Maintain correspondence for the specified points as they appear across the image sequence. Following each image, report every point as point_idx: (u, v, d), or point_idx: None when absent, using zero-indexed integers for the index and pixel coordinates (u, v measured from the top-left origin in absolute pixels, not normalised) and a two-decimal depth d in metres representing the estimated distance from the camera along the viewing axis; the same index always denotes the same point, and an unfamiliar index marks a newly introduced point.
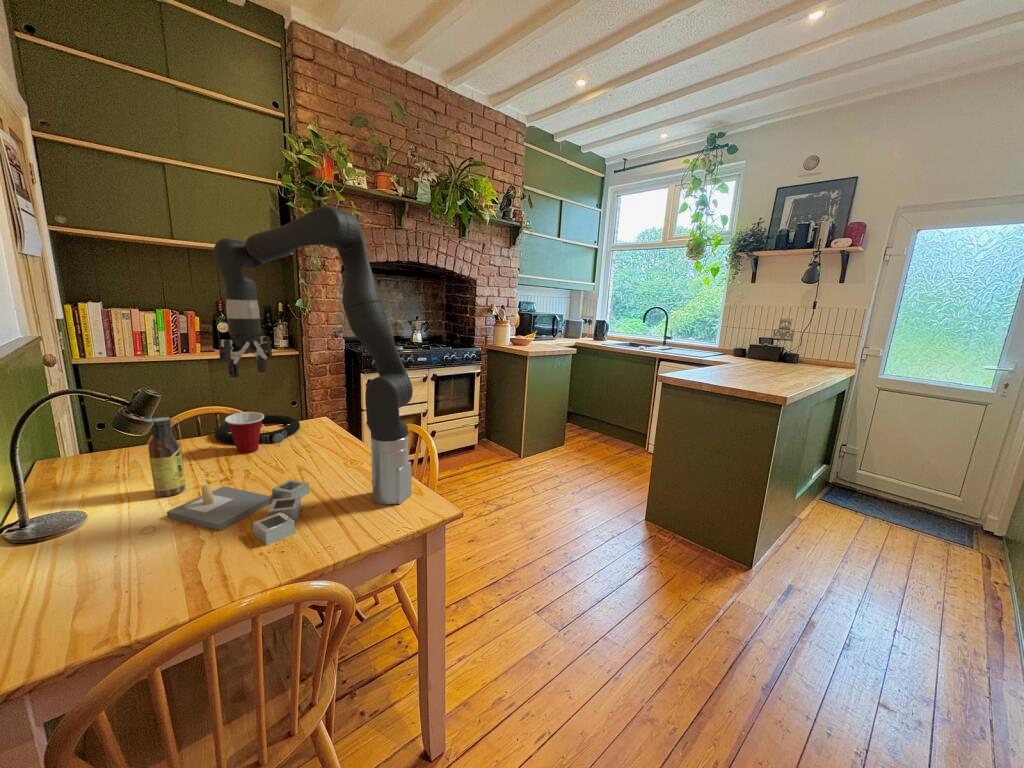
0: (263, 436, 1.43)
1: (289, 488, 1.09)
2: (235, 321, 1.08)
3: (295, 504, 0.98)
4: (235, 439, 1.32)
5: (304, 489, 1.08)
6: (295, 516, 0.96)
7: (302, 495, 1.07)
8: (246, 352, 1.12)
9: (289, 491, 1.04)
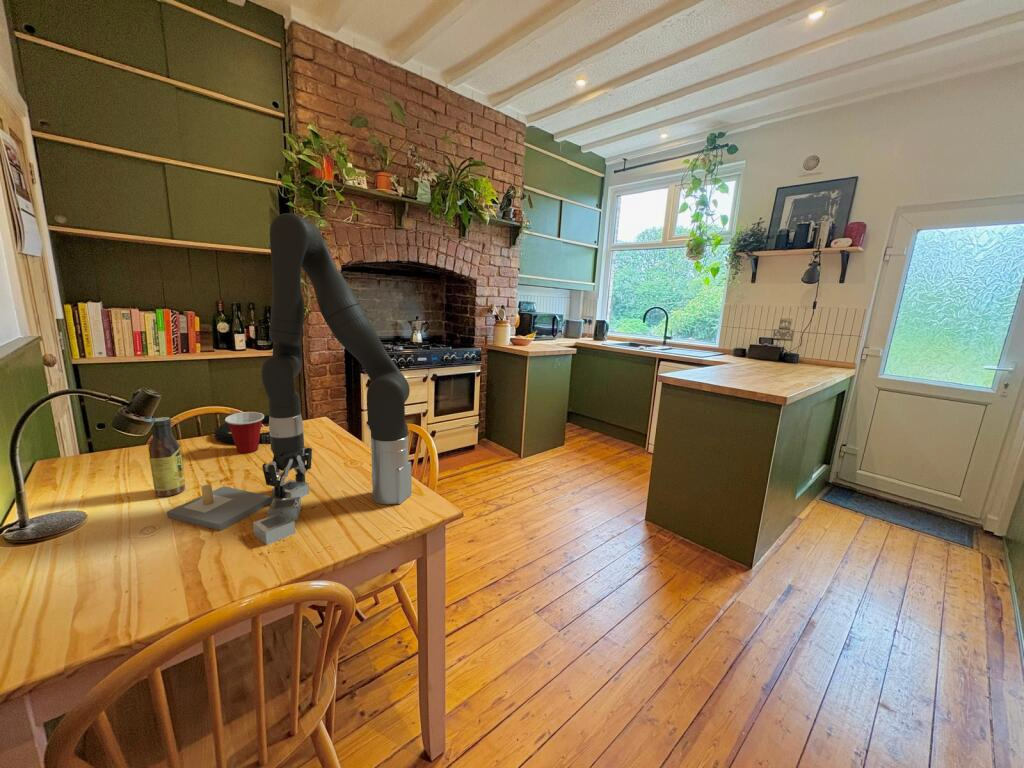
0: (263, 436, 1.43)
1: (289, 488, 1.09)
2: (279, 440, 1.00)
3: (295, 504, 0.98)
4: (235, 439, 1.32)
5: (304, 489, 1.08)
6: (295, 516, 0.96)
7: (302, 495, 1.07)
8: None
9: (289, 491, 1.04)
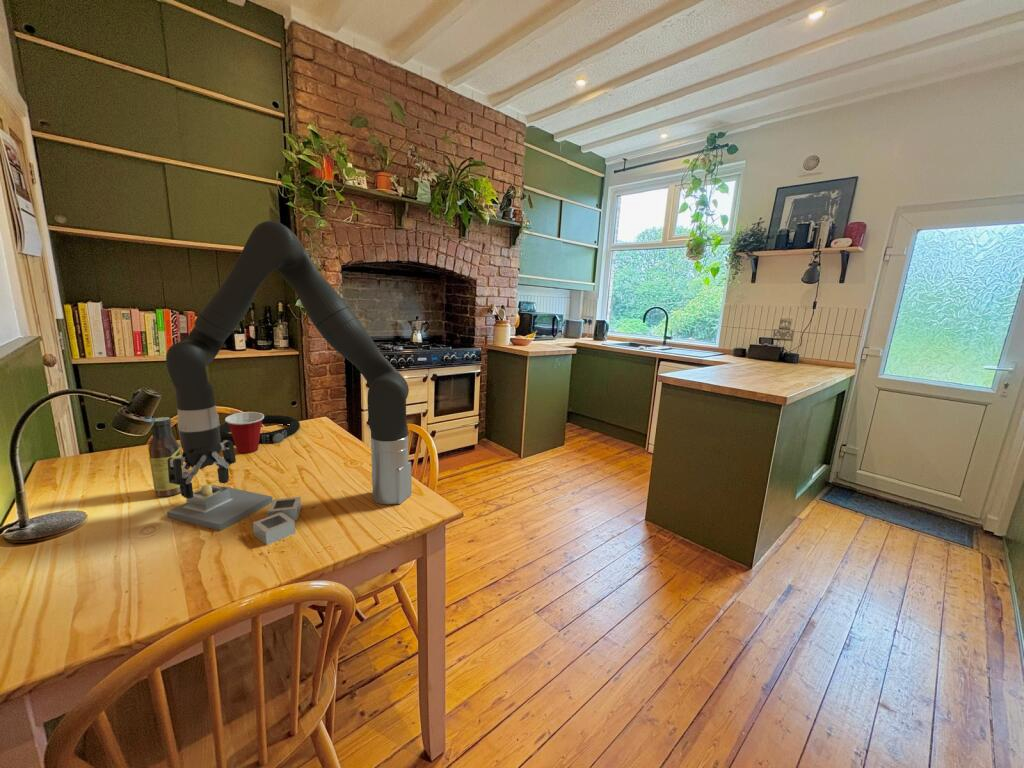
0: (263, 436, 1.43)
1: None
2: (188, 435, 0.92)
3: (295, 504, 0.98)
4: (235, 439, 1.32)
5: (224, 495, 0.99)
6: (295, 516, 0.96)
7: (220, 501, 0.99)
8: (202, 466, 0.96)
9: (203, 497, 0.96)
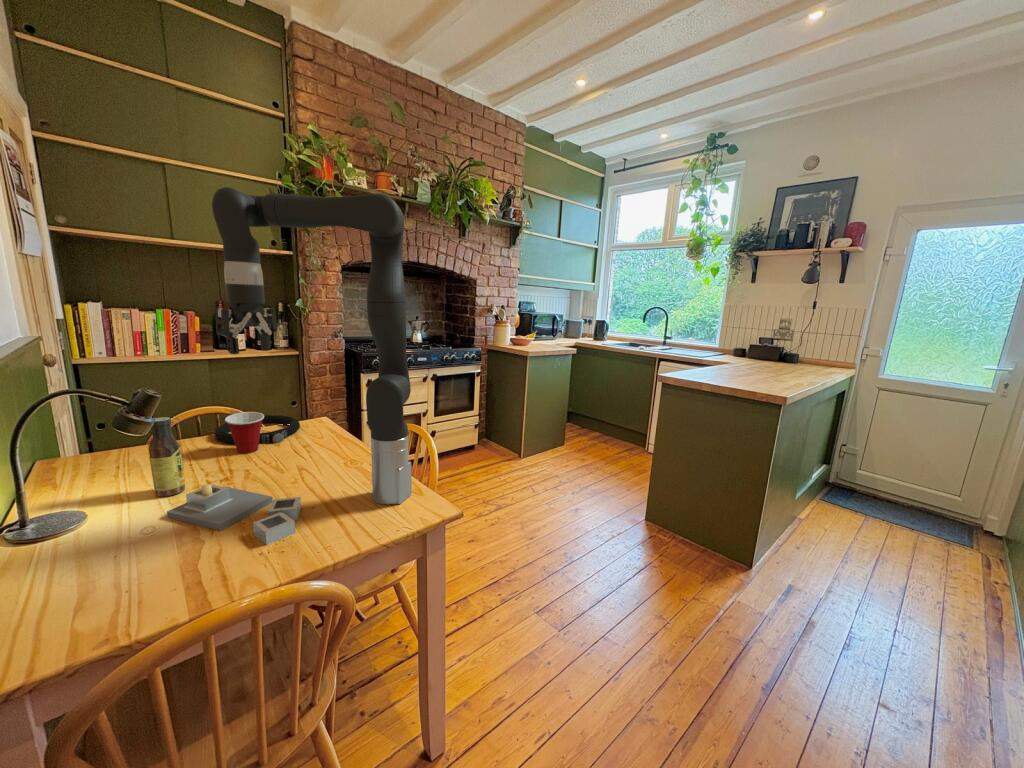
0: (263, 436, 1.43)
1: None
2: (235, 287, 0.92)
3: (295, 504, 0.98)
4: (235, 439, 1.32)
5: (224, 495, 0.99)
6: (295, 516, 0.96)
7: (220, 501, 0.99)
8: (247, 325, 0.96)
9: (203, 497, 0.96)
